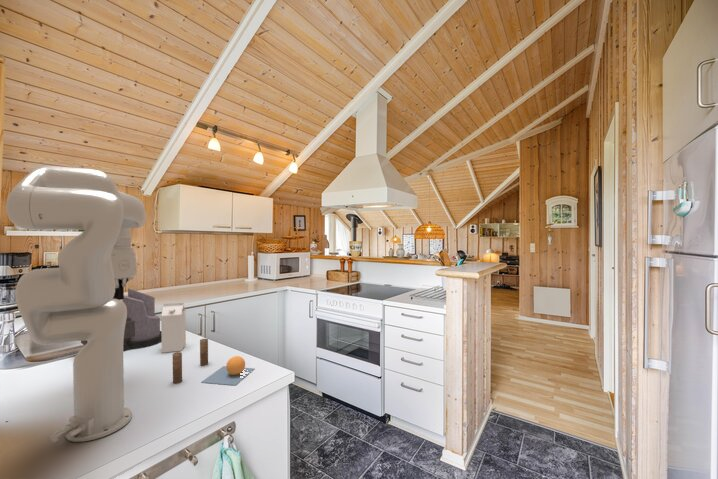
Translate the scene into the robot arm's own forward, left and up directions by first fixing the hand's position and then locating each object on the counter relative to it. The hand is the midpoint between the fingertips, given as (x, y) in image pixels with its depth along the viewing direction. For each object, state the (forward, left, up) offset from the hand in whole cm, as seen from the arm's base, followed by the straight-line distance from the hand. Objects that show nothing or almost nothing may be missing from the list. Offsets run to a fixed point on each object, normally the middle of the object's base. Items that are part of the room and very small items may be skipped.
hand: (117, 299), depth 102 cm
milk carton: (+26, +1, -26) cm, 37 cm away
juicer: (+25, +23, -26) cm, 43 cm away
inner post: (+1, -21, -26) cm, 33 cm away
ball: (+9, -37, -23) cm, 44 cm away
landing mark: (+8, -35, -26) cm, 44 cm away
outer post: (+14, -21, -26) cm, 36 cm away
